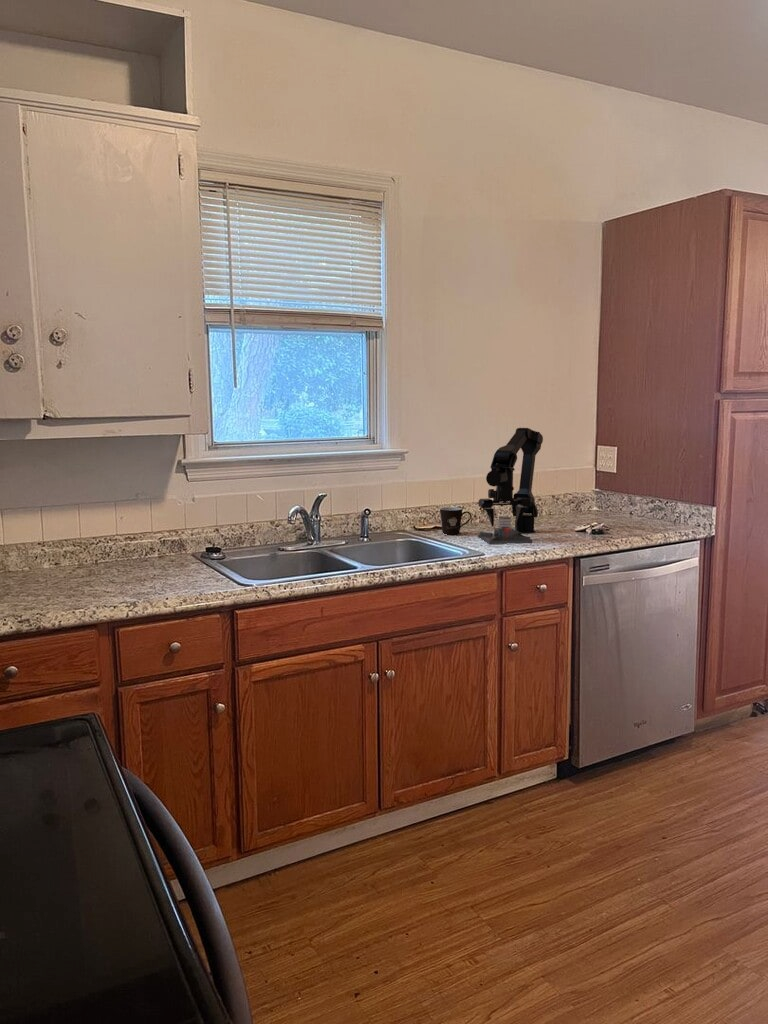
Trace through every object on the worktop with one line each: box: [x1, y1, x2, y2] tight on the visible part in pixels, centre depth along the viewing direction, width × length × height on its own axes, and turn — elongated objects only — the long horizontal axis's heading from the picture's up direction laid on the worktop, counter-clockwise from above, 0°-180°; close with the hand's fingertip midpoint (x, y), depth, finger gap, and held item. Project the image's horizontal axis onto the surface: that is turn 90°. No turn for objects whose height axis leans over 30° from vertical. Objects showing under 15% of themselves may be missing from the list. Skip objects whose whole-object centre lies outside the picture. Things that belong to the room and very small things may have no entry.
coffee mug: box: [439, 506, 473, 536], centre depth 300 cm, size 12×9×10 cm
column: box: [497, 515, 512, 530], centre depth 288 cm, size 4×4×7 cm
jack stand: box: [477, 527, 533, 545], centre depth 288 cm, size 16×16×5 cm
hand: (504, 525), depth 288 cm, fingers open, 9 cm apart
